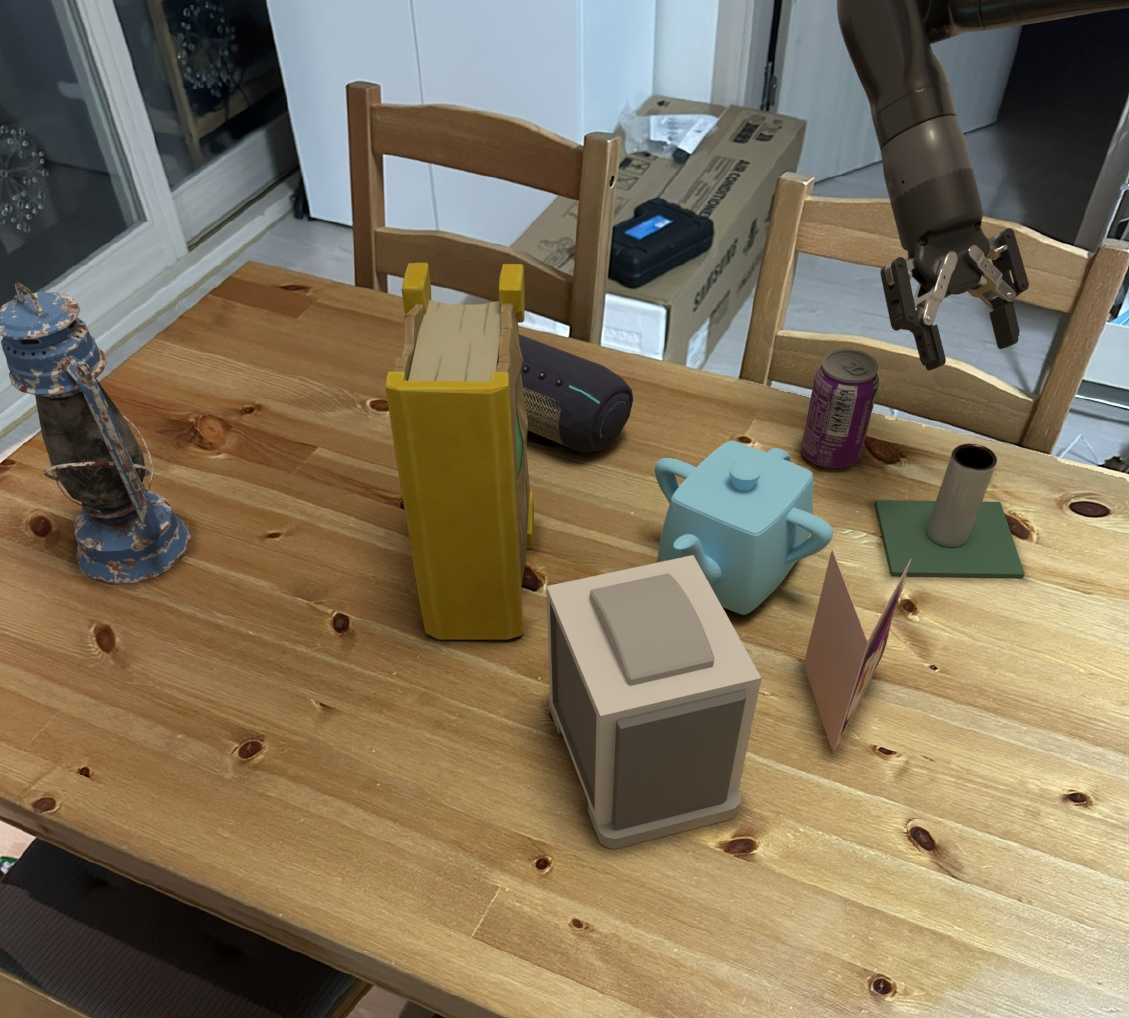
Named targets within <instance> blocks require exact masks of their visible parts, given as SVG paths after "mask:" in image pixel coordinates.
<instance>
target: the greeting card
mask: <svg viewBox="0 0 1129 1018" xmlns="http://www.w3.org/2000/svg"><path fill="white" fill-rule="evenodd" d="M910 562H911V560H910V561H909V563H908V565H907V567H906V569H905V571H904V573H903V575H902V576H900V578H899V581H898V583H897V584H896V586H895V588H894V589H893V591H892V593H891V595H890V598H889V599H888V601H887V603H886V604H885V607H884V609H883V610H882V612H881V614H880V617H879V618H878V620H877V622H876V624H875V626H874V627H873V629H872V631H871V633H870V635H869V637H868V638H867V636H866V633H865V630H864V627H863V626H862V623H861V620H860V618H859V615H858V612H857V609H856V607H855V603H854V602H853V599H852V596H851V594H850V591H849V589H848V588H849V587H848V586H847V584H846V581H845V579H844V576H843V573H842V570H841V568H840V565H839V562H838V560H837V557H836V555H835V551H834V549H833V548H831V551H830V555H829V559H828V563H827V567H826V572H825V576H824V579H823V583H822V588H821V591H820V595H819V600H818V604H817V607H816V608H817V609H816V612H815V616H814V620H813V624H812V628H811V632H810V637H809V641H808V644H807V648H806V653H805V657H804V661H803V667H804V670H805V673H806V676H807V679H808V682H809V685H810V688H811V692H812V694H813V697H814V701H815V704H816V707H817V710H818V713H819V716H820V718H821V719H820V720H821V722H822V726H823V728H824V731H825V735H826V737H827V741H828V744H829V747H830V750H831V753H832V754H834V753H835V751H836V749H837V747H838V745H839V743H840V742H841V740H842V738H843V735H844V734H845V732H846V730H847V727H848V726H849V724H850V722H851V719H852V718H853V716H854V714H855V712H856V710H857V708H858V706H859V705H860V703H861V701H862V698H863V697H864V694H865V692H866V690H867V688H868V687H869V684H870V683H871V681H872V679H873V677H874V676H875V672H876V669H877V668H878V666H879V663H880V662H881V660H882V658H883V655H884V652H885V650H886V647H887V644H888V639H889V634H890V630H891V625H892V621H893V617H894V613H895V611H896V607H897V604H898V603H899V602H898V601H899V600H900V597H901V595H902V592H903V590H904V587H905V586H906V582H907V580H906V577H907V576H906V574H907V571H908V568H909V565H910Z"/></svg>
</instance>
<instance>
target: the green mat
mask: <svg viewBox="0 0 1129 1018" xmlns="http://www.w3.org/2000/svg"><path fill="white" fill-rule="evenodd" d="M935 502H936V500H906V499H905V500H903V499H900V500H897V499H896V500H895V499H893V500H891V499H876V500H875V502H874V506H875V510H876V515H877V519H878V524H879V529H880V532H881V538H882V541H883V545H884V551H885V555H886V560H887V563H888V568H889V573H890V576H891V577H901V576H902V575H903V573H904V571H905V569H906V567H907V565H908V563H909V561H910V560H911V562H910V565H909V568H908V571H907V574H906V577H940V578H944V577H945V578H995V579H996V578H999V579H1000V578H1001V579H1005V578H1006V579H1014V578H1015V579H1023V578H1024V577H1025V575H1026V573H1025V570H1024V568H1023V565H1022V564H1023V563H1022V561H1021V559H1020V558H1021V557H1020V555H1019V553H1018V550H1017V547H1016V544H1015V541H1014V538H1013V535H1012V532H1011V529H1010V526H1009V523H1008V520H1007V517H1006V515H1005V511H1004V508H1003V506H1002V503H1001V501H982V504H981V506H980V509H979V512H978V514H977V517H976V520H975V522H974V525H973V528H972V530H971V533H970V536H969V538H968V540H967V542H966V543H965V544H963V545H961V546H958V547H944V546H941V545H938V544H936V543H934V542H933V541H932V540H931V539H930V538H929V537H928V535H927V526H928V523H929V520H930V517H931V514H932V511H933V508H934V505H935Z"/></svg>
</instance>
